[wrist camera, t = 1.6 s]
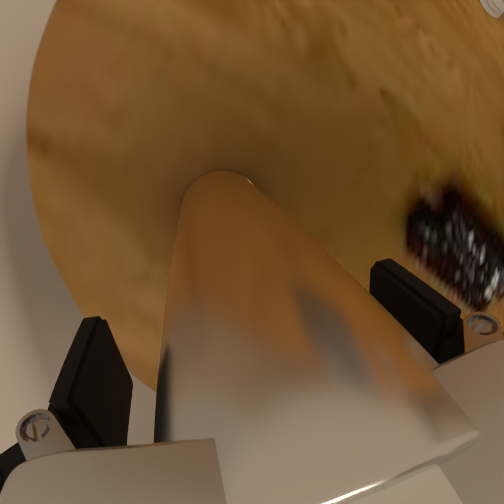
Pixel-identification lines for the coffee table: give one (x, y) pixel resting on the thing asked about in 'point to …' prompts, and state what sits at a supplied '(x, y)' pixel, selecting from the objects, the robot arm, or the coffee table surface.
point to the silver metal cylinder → (294, 365)
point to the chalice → (493, 7)
